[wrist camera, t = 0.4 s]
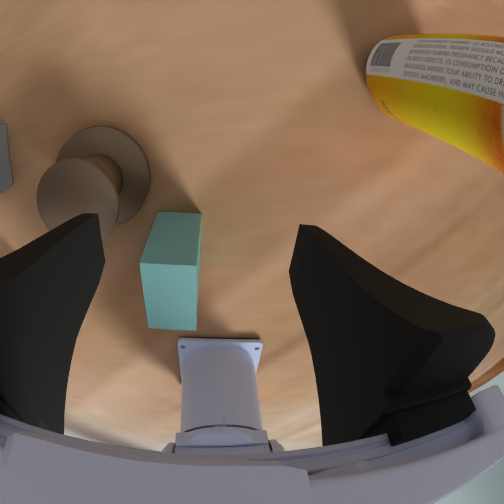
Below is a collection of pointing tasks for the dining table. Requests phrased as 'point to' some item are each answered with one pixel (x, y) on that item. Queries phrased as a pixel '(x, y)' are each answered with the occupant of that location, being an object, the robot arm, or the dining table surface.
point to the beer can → (444, 88)
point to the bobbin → (95, 179)
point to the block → (172, 271)
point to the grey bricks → (4, 161)
